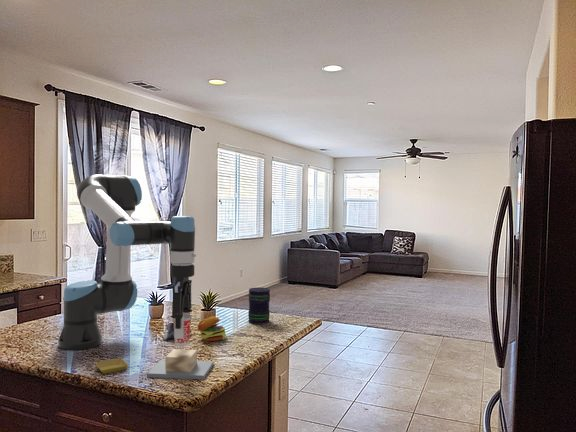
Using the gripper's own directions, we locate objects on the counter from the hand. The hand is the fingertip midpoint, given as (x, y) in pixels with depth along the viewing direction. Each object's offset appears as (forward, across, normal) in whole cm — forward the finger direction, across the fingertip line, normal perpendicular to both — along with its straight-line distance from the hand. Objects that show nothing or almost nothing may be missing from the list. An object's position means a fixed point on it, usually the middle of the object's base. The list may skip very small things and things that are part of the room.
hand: (181, 335), depth 151 cm
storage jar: (+12, +66, -17) cm, 69 cm away
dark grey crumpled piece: (+12, +38, +14) cm, 42 cm away
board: (+12, 0, 0) cm, 12 cm away
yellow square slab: (+12, 0, +23) cm, 26 cm away
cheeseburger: (+12, +36, -2) cm, 38 cm away
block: (+11, 0, 0) cm, 11 cm away
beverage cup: (+3, 0, 0) cm, 3 cm away
